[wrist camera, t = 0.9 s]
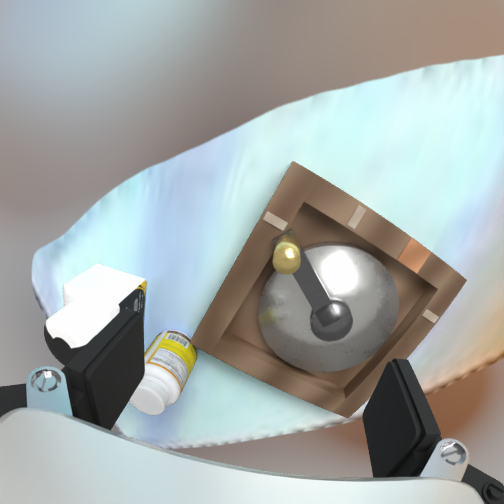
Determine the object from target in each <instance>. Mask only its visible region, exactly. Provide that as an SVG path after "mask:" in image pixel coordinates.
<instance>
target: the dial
mask: <svg viewBox="0 0 504 504" xmlns="http://www.w3.org/2000/svg"><path fill="white" fill-rule="evenodd" d="M273 242H274V244H275V246H276V247H275V251H274V256H273V266H274V269H273V271H272V272H271V273H270V275H269V276H268V278H267V280H266V282H265V284H264V287H263V290H262V294H261V298H260V302H259V310H258V317H259V325H260V329H261V332H262V334H263V337H264V339H265V340H266V342H267V344H268V345H269V347H270V348H271V349H272V350H273V351H274V352H275V353H276V354H277V355H278V356H279V357H280V358H281V359H283V360H284V361H286V362H288V363H289V364H291V365H293V366H296V367H298V368H301V369H304V370H308V371H314V372H334V371H340V370H344V369H348V368H351V367H353V366H356V365H358V364H360V363H362V362H364V361H365V360H367V359H368V358H370V357H371V356H373V355H374V354H375V353H376V352H377V351H378V350H379V349H380V348H381V347H382V346H383V345H384V344H385V342H386V341H387V340H388V338H389V337H390V335H391V333H392V331H393V329H394V327H395V324H396V321H397V317H398V311H399V297H398V292H397V288H396V285H395V282H394V280H393V278H392V277H391V275H390V273H389V272H388V271H387V269H386V268H385V267H384V265H383V264H382V263H381V262H380V261H379V260H378V259H377V258H376V257H375V256H374V255H373V254H371V253H370V252H369V251H367V250H365V249H363V248H361V247H359V246H356V245H353V244H350V243H345V242H337V241H327V242H319V243H314V244H310V245H307V246H304V247H302V246H301V244H300V243H299V240H298V239H297V237H296V236H295V234H294V232H293V230H292V229H290V230H288V231H286V232H284V233H282V234H280V235H279V236H277V237H275V238H273Z"/></svg>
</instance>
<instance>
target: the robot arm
mask: <svg viewBox="0 0 504 504" xmlns="http://www.w3.org/2000/svg"><path fill="white" fill-rule="evenodd" d="M144 374H145V360H144V325H143V317H142V316H140V314H139V312H138V311H135V310H131V309H128V308H124V309H122V310H121V311H120V312H119V313H118V314H117V315H116V316H115V317H114V318H113V319H112V320H111V321H110V322H109V323H108V324H107V325H106V326H105V327H104V328H103V329H102V330H101V331H100V332H99V333H98V334H97V335H95V336H94V337H93V338H92V339H91V340H90V341H89V342H88V343H87V344H86V345H85V346H84V347H83V348H82V349H81V350H80V351H79V352H78V353H77V354H76V355H75V356H74V358H73V359H72V360H71V361H70V362H69V363H68V364H67V365H66V366H65V367H64V368H63V369H62V370H59V369H57V368H55V367H51V366H43V367H39V368H37V369H34V370H33V371H32V372H31V373H29V375H28V377H27V381H26V384H19V385H11V386H2V387H0V504H504V486H503V484H502V483H501V482H499V481H498V480H496V479H494V478H492V477H490V476H489V475H487V474H485V473H483V472H482V471H480V470H478V469H476V468H474V467H473V466H471V465H469V464H468V462H469V458H470V457H469V456H470V455H469V451H468V450H467V448H466V446H465V445H464V444H463V443H461V442H460V441H458V440H455V439H449V438H448V439H443V440H442V439H441V436H440V434H441V433H440V430H439V427H438V425H437V423H436V420H435V418H434V415H433V413H432V411H431V409H430V406H429V404H428V402H427V399H426V397H425V395H424V393H423V391H422V388H421V386H420V384H419V382H418V380H417V377H416V375H415V373H414V371H413V369H412V367H411V365H410V363H409V361H408V360H407V359H396V358H394V359H393V360H392V361H391V362H388V363H387V364H386V366H385V368H384V371H383V373H382V375H381V377H380V379H379V381H378V383H377V385H376V388H375V390H374V392H373V394H372V396H371V398H370V400H369V402H368V404H367V405H366V407H365V409H364V412H363V423H364V428H365V433H366V438H367V443H368V449H369V455H370V460H371V466H372V472H373V478H346V477H322V476H308V475H297V474H288V473H279V472H271V471H264V470H258V469H251V468H245V467H240V466H234V465H229V464H224V463H219V462H215V461H210V460H206V459H201V458H198V457H193V456H190V455H186V454H182V453H178V452H174V451H171V450H168V449H164V448H161V447H158V446H154V445H151V444H148V443H145V442H142V441H139V440H136V439H133V438H130V437H127V436H124V435H122V434H119V433H116V432H113V431H111V428H112V427H113V425H114V424H115V422H116V421H117V419H118V417H119V416H120V414H121V413H122V411H123V409H124V408H125V406H126V405H127V403H128V401H129V400H130V398H131V397H132V395H133V393H134V392H135V390H136V389H137V387H138V385H139V384H140V382H141V381H142V379H143V377H144Z"/></svg>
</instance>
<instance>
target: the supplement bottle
mask: <svg viewBox="0 0 504 504" xmlns="http://www.w3.org/2000/svg"><path fill="white" fill-rule="evenodd" d="M190 341H191V338H190V337H189V336H188V335H187V334H185V333H183V332H181V331H178V330H165V331H162V332H161V333H159V334H158V336H157V337H156V338H155V339H154V341H153V342H152V344H151V345H150V347H149V348H148V349H147V351H146V352H145V353H144V360H145V374H144V377H143V379H142V381H141V382H140V384H139V385H138V387H137V389H136V390H135V392H134V393H133V395H132V397H131V398H130V402H131V403H132V404H133V406H134V407H136V408H137V409H138V410H140V411H141V412H143V413H146V414H149V415H159V414H161V413H162V412H163V411H164V409H165V407H166V406H170V405H172V404H174V403H175V402H176V401H177V400H178V398H179V396H180V394H181V392H182V390H183V388H184V386H185V384H186V381H187V379H188V377H189V375H190V373H191V370H192V368H193V366H194V364H195V362H196V359H197V355H198V351H197V347H195V346H194V345H192V344H190Z"/></svg>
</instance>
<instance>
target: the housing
mask: <svg viewBox="0 0 504 504" xmlns="http://www.w3.org/2000/svg"><path fill="white" fill-rule="evenodd" d="M290 229H292V230H293V232H294V234H295V236H296V237H297V239H298V240H299V243H300V244H301V246H302V247H304V246H307V245H310V244H314V243H319V242H327V241H337V242H345V243H350V244H353V245H356V246H359V247H361V248H363V249H365V250H367V251H369V252H370V253H371V254H373V255H374V256H375V257H376V258H377V259H378V260H379V261H380V262H381V263H382V264H383V265H384V267H385V268H386V269H387V271H388V272H389V273H390V275H391V277H392V278H393V280H394V282H395V285H396V288H397V292H398V297H399V311H398V317H397V321H396V324H395V327H394V329H393V331H392V333H391V335H390V337H389V338H388V340H387V341H386V342H385V344H384V345H383V346H382V347H381V348H380V349H379V350H378V351H377V352H376V353H375V354H374V355H373V356H371V357H370V358H368V359H367V360H365V361H364V362H362V363H360V364H358V365H356V366H353V367H351V368H348V369H344V370H340V371H334V372H314V371H308V370H304V369H301V368H298V367H296V366H293V365H291V364H289V363H288V362H286V361H284V360H283V359H281V358H280V357H279V356H278V355H277V354H276V353H275V352H274V351H273V350H272V349H271V348H270V347H269V345H268V344H267V342H266V340H265V339H264V337H263V334H262V332H261V329H260V325H259V317H258V310H259V302H260V298H261V294H262V290H263V287H264V284H265V282H266V280H267V278H268V276H269V275H270V273H271V272H272V271H273V269H274V266H273V256H274V251H275V247H276V246H275V244H274V242H273V238H275V237H277V236H279V235H280V234H282V233H284V232H286V231H288V230H290ZM466 281H467V280H466V279H465V278H464V277H463V276H461V275H460V274H459V273H458V272H457V271H455V270H454V269H453V268H452V267H450V266H449V265H448V264H447V263H445V262H444V261H443V260H441V259H440V258H439V257H437V256H436V255H435V254H434V253H432V252H431V251H430V250H428V249H427V248H426V247H424V246H423V245H422V244H420V243H419V242H417V241H416V240H415V239H413V238H412V237H411V236H409V235H408V234H406V233H405V232H404V231H402V230H401V229H399V228H398V227H397V226H395V225H394V224H392V223H391V222H389V221H388V220H386V219H385V218H384V217H382V216H381V215H379V214H378V213H376V212H375V211H373V210H372V209H370V208H369V207H367V206H366V205H364V204H363V203H361V202H360V201H358V200H357V199H355V198H353V197H352V196H350V195H349V194H347V193H346V192H344V191H342V190H341V189H339V188H338V187H336V186H334V185H333V184H331V183H330V182H328V181H326V180H325V179H323V178H321V177H320V176H318V175H316V174H315V173H313V172H311V171H310V170H308V169H306V168H305V167H303V166H301V165H300V164H298V163H296V162H294V161H293V162H292V164H291V165H290V167H289V169H288V170H287V172H286V174H285V176H284V177H283V179H282V181H281V183H280V184H279V186H278V188H277V190H276V191H275V193H274V195H273V196H272V198H271V200H270V202H269V203H268V205H267V207H266V209H265V210H264V212H263V214H262V216H261V217H260V219H259V221H258V223H257V224H256V226H255V228H254V229H253V231H252V233H251V235H250V236H249V238H248V240H247V242H246V243H245V245H244V247H243V249H242V250H241V252H240V254H239V256H238V257H237V259H236V261H235V263H234V265H233V266H232V268H231V270H230V272H229V273H228V275H227V277H226V279H225V280H224V282H223V284H222V286H221V287H220V289H219V291H218V293H217V294H216V296H215V298H214V300H213V302H212V303H211V305H210V307H209V309H208V310H207V312H206V314H205V316H204V318H203V319H202V321H201V323H200V325H199V326H198V328H197V330H196V332H195V334H194V335H193V337H192V339H191V341H190V344H192V345H194V346H195V347H197V348H199V349H201V350H203V351H204V352H206V353H208V354H210V355H212V356H214V357H216V358H217V359H219V360H221V361H223V362H225V363H227V364H229V365H231V366H233V367H235V368H237V369H239V370H241V371H243V372H245V373H247V374H249V375H251V376H253V377H255V378H257V379H259V380H261V381H263V382H265V383H267V384H269V385H271V386H274V387H276V388H278V389H280V390H282V391H284V392H287V393H289V394H291V395H293V396H296V397H298V398H300V399H302V400H305V401H307V402H309V403H312V404H314V405H316V406H319V407H321V408H324V409H326V410H329V411H331V412H333V413H336V414H339V415H341V416H344V417H346V418H349V417H350V416H351V415H352V414H354V413H355V412H356V411H357V410H358V409H359V408H360V407H361V406H362V405H363V404H364V403H365V402H366V401H367V400H368V399H369V398H370V397H371V396H372V394H373V392H374V390H375V388H376V385H377V383H378V381H379V379H380V377H381V375H382V373H383V371H384V368H385V366H386V364H387V363H388V362H391V361H392V360H393V359H394V358H396V359H407V358H408V357H409V355H410V354H411V353H412V352H413V351H414V350H415V348H416V347H417V346H418V345H419V344H420V343H421V341H422V340H423V339H424V338H425V336H426V335H427V334H428V333H429V331H430V330H431V329H432V328H433V326H434V325H435V324H436V323H437V321H438V320H439V319H440V317H441V316H442V315H443V313H444V312H445V311H446V309H447V308H448V307H449V305H450V304H451V302H452V301H453V300H454V298H455V297H456V295H457V294H458V293H459V291H460V290H461V288H462V287H463V285H464V284H465V282H466Z"/></svg>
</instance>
